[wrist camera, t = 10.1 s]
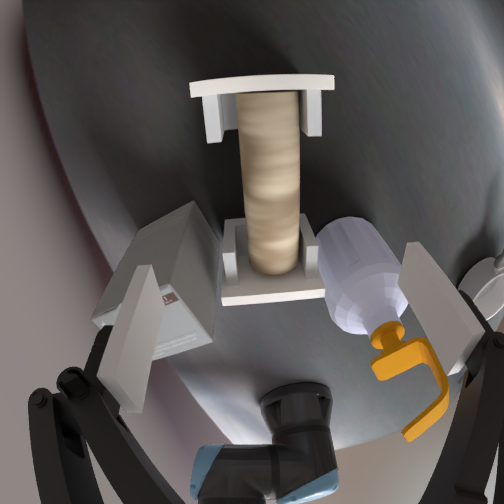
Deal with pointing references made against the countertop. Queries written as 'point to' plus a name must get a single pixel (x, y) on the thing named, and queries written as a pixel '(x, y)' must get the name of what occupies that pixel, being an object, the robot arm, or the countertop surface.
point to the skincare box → (172, 279)
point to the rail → (270, 177)
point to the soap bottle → (374, 305)
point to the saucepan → (486, 285)
